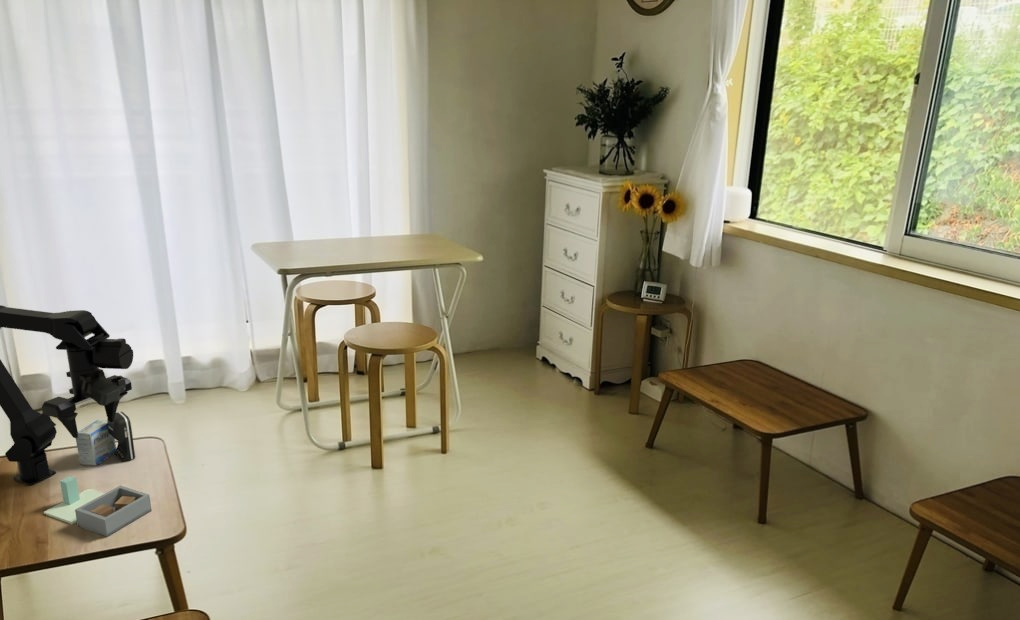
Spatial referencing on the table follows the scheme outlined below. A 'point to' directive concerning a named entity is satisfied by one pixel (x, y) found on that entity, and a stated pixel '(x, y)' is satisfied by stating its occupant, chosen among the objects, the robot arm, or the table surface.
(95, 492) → the lid
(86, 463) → the medicine box
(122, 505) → the block
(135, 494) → the tub
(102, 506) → the block
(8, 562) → the table surface
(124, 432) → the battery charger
